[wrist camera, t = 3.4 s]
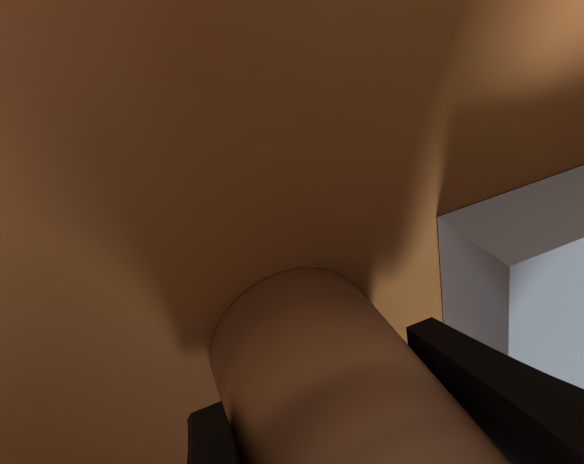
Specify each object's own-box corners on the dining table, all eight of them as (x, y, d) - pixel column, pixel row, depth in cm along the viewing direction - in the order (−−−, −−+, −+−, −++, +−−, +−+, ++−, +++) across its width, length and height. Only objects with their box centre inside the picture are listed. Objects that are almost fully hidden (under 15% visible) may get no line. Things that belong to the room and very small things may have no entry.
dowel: (378, 373, 14) (597, 670, 8) (234, 433, 13) (356, 816, 7) (359, 244, 12) (629, 507, 6) (188, 305, 11) (303, 679, 5)
